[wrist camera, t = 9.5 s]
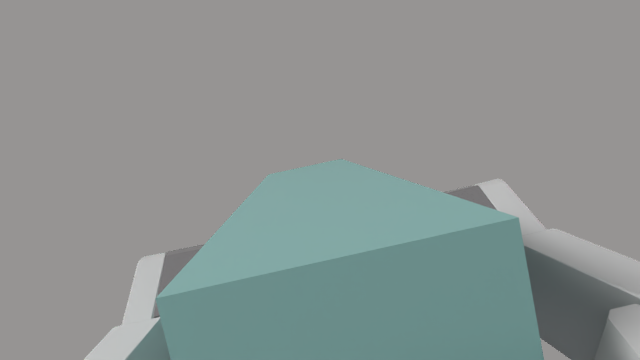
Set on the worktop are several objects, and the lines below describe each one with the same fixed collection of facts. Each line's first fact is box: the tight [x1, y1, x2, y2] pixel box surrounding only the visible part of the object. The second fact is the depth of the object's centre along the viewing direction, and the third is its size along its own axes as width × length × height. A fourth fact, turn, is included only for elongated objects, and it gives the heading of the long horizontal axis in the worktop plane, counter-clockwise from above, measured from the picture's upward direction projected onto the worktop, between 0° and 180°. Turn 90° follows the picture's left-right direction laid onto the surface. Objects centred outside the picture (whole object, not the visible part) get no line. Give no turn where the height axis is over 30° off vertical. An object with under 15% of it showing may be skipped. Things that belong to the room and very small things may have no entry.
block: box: [155, 159, 544, 360], centre depth 15 cm, size 4×20×2 cm, turn 3°
